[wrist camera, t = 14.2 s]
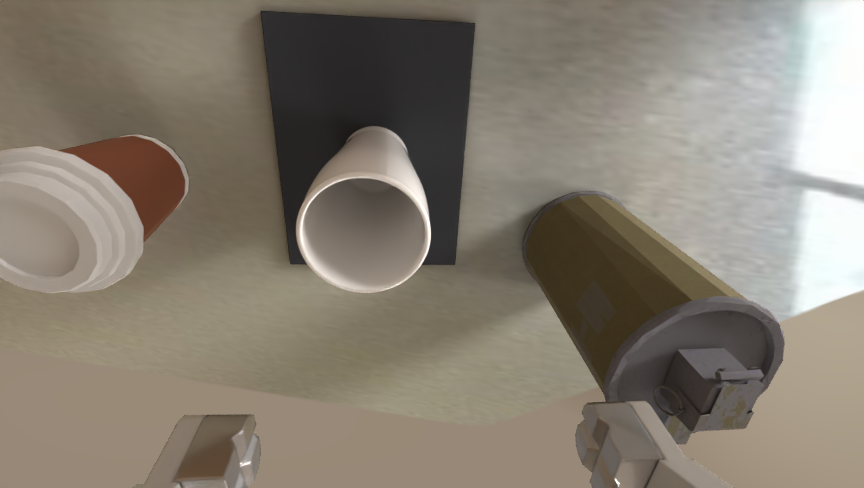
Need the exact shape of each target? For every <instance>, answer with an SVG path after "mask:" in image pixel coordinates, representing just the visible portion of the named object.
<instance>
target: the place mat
mask: <svg viewBox="0 0 864 488" xmlns="http://www.w3.org/2000/svg"><path fill="white" fill-rule="evenodd" d="M261 18H262V27H263V35H264V44H265V52H266V61H267V69H268V78H269V86H270V95H271V103H272V112H273V120H274V129H275V137H276V146H277V154H278V163H279V171H280V180H281V188H282V197H283V205H284V214H285V222H286V231H287V239H288V248H289V256H290V264H307V263H306V262H305V260H304V258H303V257H302V254H301V252H300V250H299V247H298V243H297V238H296V222H297V217H298V213H299V210H300V208H301V206H302V203H303V200H304V198H305V196H306V193H307V191H308V189H309V187H310V185H311V184H312V182H313V180H314V179H315V177H316V176H317V174H318V173H319V171H320V170H321V169H322V168H323V166H324V165H325V164H326V163H327V162H328V161H329V160H330V159H331V158H332V157H333V156H334V155H335V154H336V153H337V152H338V151H339V150H340V149H341V148H342V147H343V146H344V144H345V142H346V141H347V139H348V138H349V137H350V136H351V135H352V134H353V133H354V132H356V131H357V130H359V129H362V128H364V127H369V126H379V127H383V128H386V129H389V130H391V131H392V132H394V133H395V134H396V135H398V136H399V137H400V138H401V140H402V141H403V143H404V144H405V146H406V149H407V151H408V156H409V158H410V160H411V163H412V165H413V167H414V169H415V171H416V173H417V175H418V177H419V179H420V181H421V183H422V186H423V188H424V192H425V195H426V198H427V203H428V208H429V215H430V227H431V240H430V246H429V250H428V253H427V255H426V257H425V259H424V261H423V263H422V264H421V265H455V259H456V247H457V235H458V223H459V211H460V199H461V187H462V175H463V163H464V151H465V139H466V127H467V115H468V103H469V91H470V79H471V67H472V55H473V43H474V31H475V23H462V22H445V21H428V20H410V19H393V18H376V17H358V16H341V15H324V14H307V13H289V12H272V11H261Z"/></svg>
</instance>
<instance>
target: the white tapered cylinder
mask: <svg viewBox="0 0 864 488" xmlns="http://www.w3.org/2000/svg"><path fill="white" fill-rule="evenodd" d="M296 238H297V243H298V247H299V250H300V252H301V254H302V257H303V258H304V260H305V262H306V263H307V264H308V266H309V267H310V268H311V269H312V270H313V272H314V273H316V274H317V275H318V276H319V277H320V278H322V279H323V280H324V281H326V282H328V283H329V284H331V285H333V286H335V287H338V288H340V289H344V290H347V291H351V292H359V293H372V292H379V291H384V290H387V289H390V288H393V287H395V286H397V285H399V284H401V283H403V282H404V281H406V280H407V279H409V278H410V277H411V276H412V275H413V274H414V273H415V272H416V271H417V270H418V269H419V267H420V266H421V264H422V263H423V261H424V259H425V257H426V255H427V253H428V250H429V246H430V240H431V227H430V215H429V208H428V203H427V198H426V195H425V192H424V188H423V186H422V183H421V181H420V179H419V177H418V175H417V173H416V171H415V169H414V167H413V165H412V163H411V160H410V158H409V156H408V151H407V149H406V146H405V144H404V143H403V141H402V140H401V138H400V137H399V136H398V135H396V134H395V133H394V132H392V131H391V130H389V129H386V128H383V127H379V126H369V127H364V128H362V129H359V130H357V131H356V132H354V133H353V134H352V135H351V136H350V137H349V138H348V139H347V141H346V142H345V144H344V146H343V147H342V148H341V149H340V150H339V151H338V152H337V153H336V154H335V155H334V156H333V157H332V158H331V159H330V160H329V161H328V162H327V163H326V164H325V165H324V166H323V168H322V169H321V170H320V171H319V173H318V174H317V176H316V177H315V179H314V180H313V182H312V184H311V185H310V187H309V189H308V191H307V193H306V196H305V198H304V200H303V203H302V206H301V208H300V210H299V213H298V217H297V222H296Z"/></svg>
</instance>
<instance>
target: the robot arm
mask: <svg viewBox="0 0 864 488" xmlns="http://www.w3.org/2000/svg"><path fill="white" fill-rule="evenodd" d="M582 415H583V417H584V419H585V420H583V421H582V422H581V423H580V424H578V426H577V430H576V434H575V437H576V447H577V451H578V455H579V457H580V460H581V462H582V464H583V465H584V466H585V467H586V468H587V469H588V470H590V471H591V472H592V475H591V479H590V483H591V486H592V488H734V487H732V486H731V485H730V484H728V483H727V482H725V481H724V480H722V479H721V478H720V477H718V476H717V475H715V474H714V473H712V472H711V471H709V470H708V469H707V468H705V467H704V466H702V465H701V464H700V463H698V462H697V461H695V460H694V459H687V458H686V457H685V456H684V454H683V453H682V451H681V450H680V448H679V447H678V445H677V444H676V442H675V441H674V439H673V438H672V436H671V435H670V433H669V432H668V431H667V429H666V428H665V426H664V425H663V423H662V422H661V420H660V419H659V417H658V416H657V414H656V413H655V411H654V410H653V408H652V407H651V406H650V404H649V403H647V402H646V401H625V402H624V401H614V402H594V403H587V404H586V405H584V408H583V410H582ZM255 426H256V422H255V418H254V415H185V416H183V417H182V418H181V419H180V420H179V422H178V423H177V424H176V426H175V428H174V430H173V432H172V434H171V435H170V437H169V439H168V441H167V443H166V445H165V447H164V448H163V451H162V452H161V454H160V456H159V458H158V459H157V462H156V463H155V465H154V467H153V469H152V471H151V472H150V474H149V476H148V478H147V480H146V482H145V483H144V484H139V485H136V486H134V487H133V488H247V487H248V486H249V485H250V484H251V483H252V482H253V481H254V480H255V478H256V475H257V471H258V467H259V462H260V455H261V448H260V440H259V437H258V436H257V435H256V434H254V433H253V432H254V429H255Z"/></svg>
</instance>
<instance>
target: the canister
mask: <svg viewBox="0 0 864 488" xmlns="http://www.w3.org/2000/svg"><path fill="white" fill-rule="evenodd" d="M523 258H524V262H525V265H526V267H527V269H528V271H529V273H530V274H531V275H532V277H533V278H534V279H535V280H536V281H537V282H538V284H539V285H540V287H541V289H542V290H543V292H544V294H545V295H546V297H547V299H548V300H549V302H550V304H551V306H552V307H553V309H554V311H555V312H556V314H557V316H558V317H559V319H560V321H561V323H562V324H563V326H564V328H565V329H566V331H567V333H568V334H569V336H570V338H571V339H572V341H573V343H574V345H575V346H576V348H577V350H578V351H579V353H580V355H581V356H582V358H583V360H584V361H585V363H586V365H587V367H588V368H589V370H590V372H591V373H592V375H593V377H594V378H595V380H596V382H597V383H598V385H599V387H600V389H601V390H602V392H603V394H604V395H605V400H606V402H614V401H624V402H625V401H646V402H647V403H649V404H650V406H651V407H652V408H653V410H654V411H655V413H656V414H657V416H658V417H659V419H660V420H661V422H662V423H663V425H664V426H665V428H666V429H667V431H668V432H669V433H670V435H671V436H672V438H673V439H674V441H675V442H676V444H686V443H687V441H688V439H689V437H690V434H691V433H695V432H698V431H713V430H731V429H732V430H733V429H744V428H746V427H747V424H748V423H749V421H750V419H751V417H752V415H753V412H752V408H753V406H754V404H755V402H756V400H757V398H758V397H759V396H760V395H761V394H762V393H763V392H764V391H765V390H766V389H767V388H768V386H769V384H770V382H771V381H772V379H773V377H774V375H775V374H776V372H777V370H778V369H779V367H780V365H781V363H782V361H783V353H784V332H783V330H782V329H781V327H780V325H779V323H778V321H777V320H776V318H775V316H774V315H773V314H772V313H771V312H770V311H768V310H767V309H765V308H764V307H762V306H761V305H759V304H758V303H756V302H753V301H750V300H747V299H746V298H744V297H743V296H742V295H740V294H739V293H738V292H736V291H735V290H734V289H732V288H731V287H730V286H728V285H727V284H726V283H724V282H723V281H722V280H720V279H719V278H718V277H716V276H715V275H713V274H712V273H711V272H709V271H708V270H707V269H705V268H704V267H703V266H701V265H700V264H699V263H697V262H696V261H695V260H693V259H692V258H691V257H689V256H688V255H687V254H685V253H684V252H682V251H681V250H680V249H678V248H677V247H676V246H674V245H673V244H672V243H670V242H669V241H668V240H666V239H665V238H664V237H662V236H661V235H660V234H658V233H657V232H656V231H654V230H653V229H651V228H650V227H649V226H647V225H646V224H645V223H643V222H642V221H641V220H639V219H638V218H637V217H635V216H634V215H633V214H631V213H630V212H629V211H627V210H626V208H625V207H624V206H623V205H622V204H621V203H620V202H619V201H618V200H616V199H615V198H613V197H611V196H609V195H607V194H605V193H602V192H591V191H585V192H574V193H570V194H568V195H565V196H562V197H560V198H558V199H556V200H554V201H552V202H551V203H550V204H548V205H547V206H546V207H545V208H543V209H542V211H541V212H540V213H539V214H538V215H537V216H536V217H535V218H534V219H533V221H532V222H531V224H530V226H529V227H528V230H527V233H526V235H525V239H524V244H523Z"/></svg>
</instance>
